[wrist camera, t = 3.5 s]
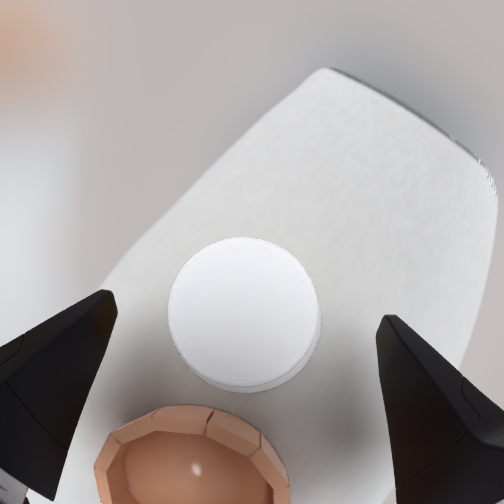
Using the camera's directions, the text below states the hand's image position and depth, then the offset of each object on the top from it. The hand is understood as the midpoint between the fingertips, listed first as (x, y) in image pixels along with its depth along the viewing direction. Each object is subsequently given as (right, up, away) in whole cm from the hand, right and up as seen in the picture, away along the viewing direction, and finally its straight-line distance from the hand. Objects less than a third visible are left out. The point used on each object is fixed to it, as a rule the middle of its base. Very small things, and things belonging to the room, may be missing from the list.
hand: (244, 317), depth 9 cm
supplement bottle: (0, -2, +8) cm, 8 cm away
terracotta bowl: (-3, -12, +5) cm, 13 cm away
